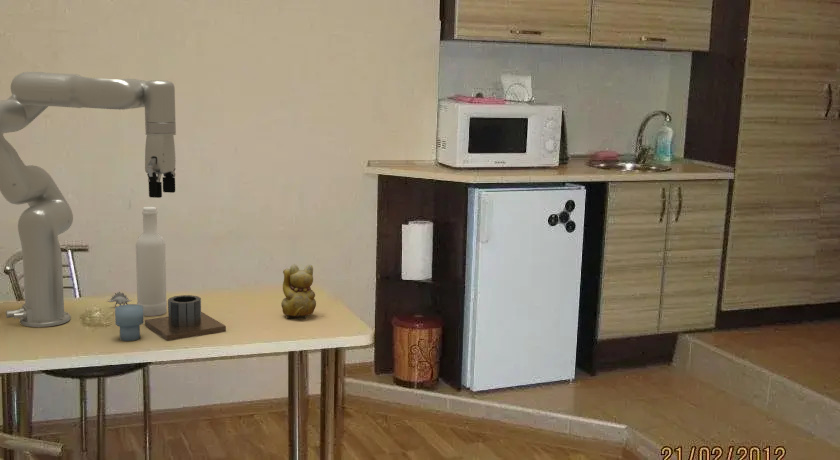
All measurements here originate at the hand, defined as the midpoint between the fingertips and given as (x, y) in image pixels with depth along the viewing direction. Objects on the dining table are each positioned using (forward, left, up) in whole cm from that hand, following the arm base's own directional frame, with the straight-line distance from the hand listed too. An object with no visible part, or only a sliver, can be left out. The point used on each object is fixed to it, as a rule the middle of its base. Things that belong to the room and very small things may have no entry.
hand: (162, 194), depth 227 cm
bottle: (+1, +14, -36) cm, 38 cm away
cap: (-12, -6, -35) cm, 38 cm away
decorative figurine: (+34, -11, -36) cm, 51 cm away
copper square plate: (+3, -5, -35) cm, 36 cm away
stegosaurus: (-5, +24, -36) cm, 43 cm away
